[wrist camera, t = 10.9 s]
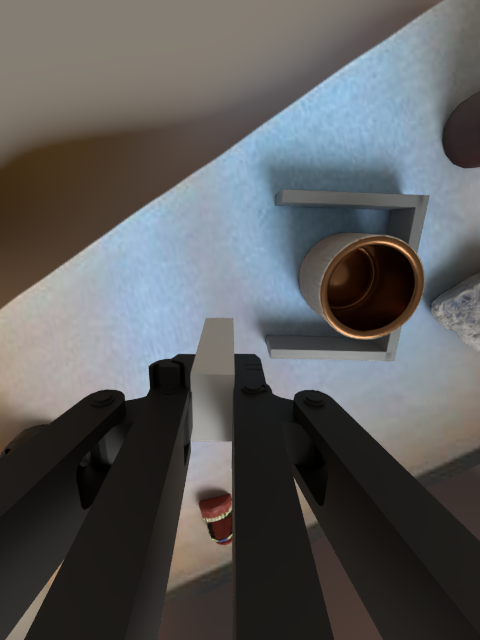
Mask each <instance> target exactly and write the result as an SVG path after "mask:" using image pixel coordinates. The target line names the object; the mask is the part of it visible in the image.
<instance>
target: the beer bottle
mask: <svg viewBox="0 0 480 640" xmlns="http://www.w3.org/2000/svg"><path fill="white" fill-rule="evenodd" d="M443 144H444V148H445V152H446V155H447V157H448V158H449V159H450V160H451V162H452V163H453V164H455V165H457V166H459V167H462V168H476V167H480V92H478V93H476V94H474V95H473V96H471V97H470V98H468V99H467V100H465V101H464V102H462V103H461V104H460V105H459V106H458V107H457V108H456V109H455V111H454V112H453V113H452V114H451V116H450V118H449V120H448V122H447V124H446V126H445V130H444V138H443Z"/></svg>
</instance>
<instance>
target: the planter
mask: <svg viewBox="0 0 480 640" xmlns="http://www.w3.org/2000/svg"><path fill="white" fill-rule="evenodd" d="M299 286H300V290H301V293H302V296H303V298H304V300H305V301H306V303H307V304H308V305H309V306H310V307H311V308H312V309H313V310H314V311H315V312H316V313H317V314H318V315H320V316H321V317H322V318H323V319H324V320H325V321H326V322H327V323H328V324H329V325H330V326H331V327H332V328H334V329H335V330H336V331H338V332H339V333H341V334H343V335H345V336H347V337H350V338H354V339H362V340H367V339H375V338H379V337H382V336H385V335H388V334H390V333H392V332H393V331H395V330H397V329H398V328H400V327H401V326H402V325H403V324H404V323H406V322H407V321H408V320H409V318H410V317H411V316H412V315H413V313H414V312H415V310H416V309H417V307H418V305H419V303H420V301H421V298H422V295H423V292H424V286H425V273H424V268H423V265H422V262H421V260H420V258H419V256H418V254H417V253H416V251H415V250H414V249H413V248H412V247H411V246H410V245H409V244H407V243H406V242H404V241H403V240H401V239H399V238H396V237H393V236H389V235H381V234H363V233H348V232H344V233H337V234H333V235H330V236H328V237H325V238H324V239H322V240H320V241H319V242H317V243H316V244H315V245H314V246H313V247H312V248H311V249H310V250H309V251H308V253H307V254H306V256H305V257H304V259H303V262H302V264H301V267H300V271H299Z"/></svg>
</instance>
